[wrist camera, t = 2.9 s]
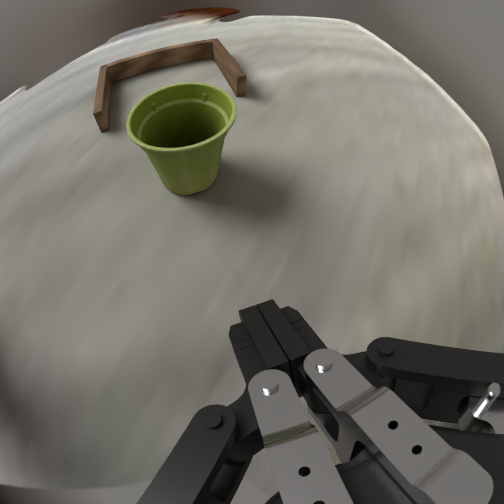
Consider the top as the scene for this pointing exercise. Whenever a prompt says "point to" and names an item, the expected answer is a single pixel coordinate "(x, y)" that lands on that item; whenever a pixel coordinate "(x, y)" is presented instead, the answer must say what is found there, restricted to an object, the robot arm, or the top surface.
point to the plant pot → (183, 133)
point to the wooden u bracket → (163, 59)
